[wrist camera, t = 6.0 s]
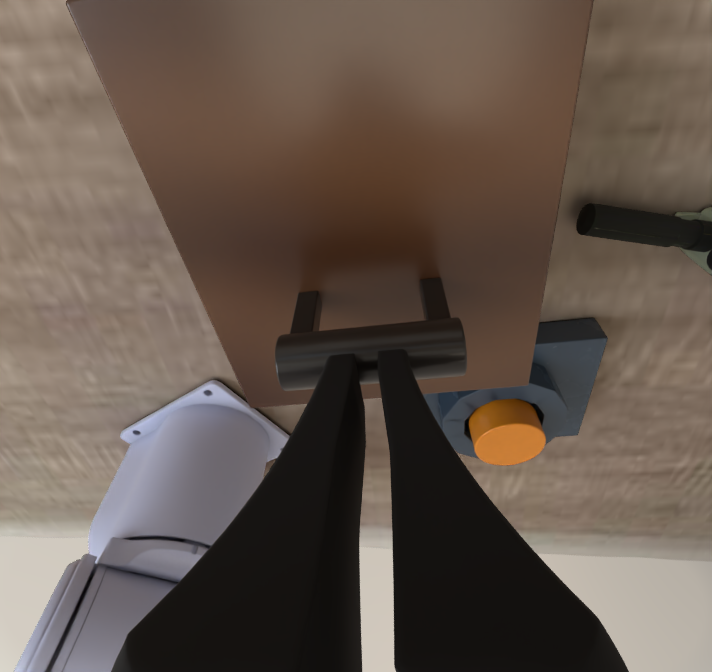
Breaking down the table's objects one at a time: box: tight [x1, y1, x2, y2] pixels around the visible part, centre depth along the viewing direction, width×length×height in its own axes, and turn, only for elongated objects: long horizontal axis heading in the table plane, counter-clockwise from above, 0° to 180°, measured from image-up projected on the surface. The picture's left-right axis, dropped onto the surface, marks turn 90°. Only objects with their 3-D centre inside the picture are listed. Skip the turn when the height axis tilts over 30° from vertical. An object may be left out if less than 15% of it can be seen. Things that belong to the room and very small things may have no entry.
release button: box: [469, 399, 546, 465], centre depth 23 cm, size 4×4×2 cm
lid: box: [66, 0, 594, 408], centre depth 12 cm, size 14×11×4 cm
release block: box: [423, 318, 608, 459], centre depth 24 cm, size 10×8×4 cm
